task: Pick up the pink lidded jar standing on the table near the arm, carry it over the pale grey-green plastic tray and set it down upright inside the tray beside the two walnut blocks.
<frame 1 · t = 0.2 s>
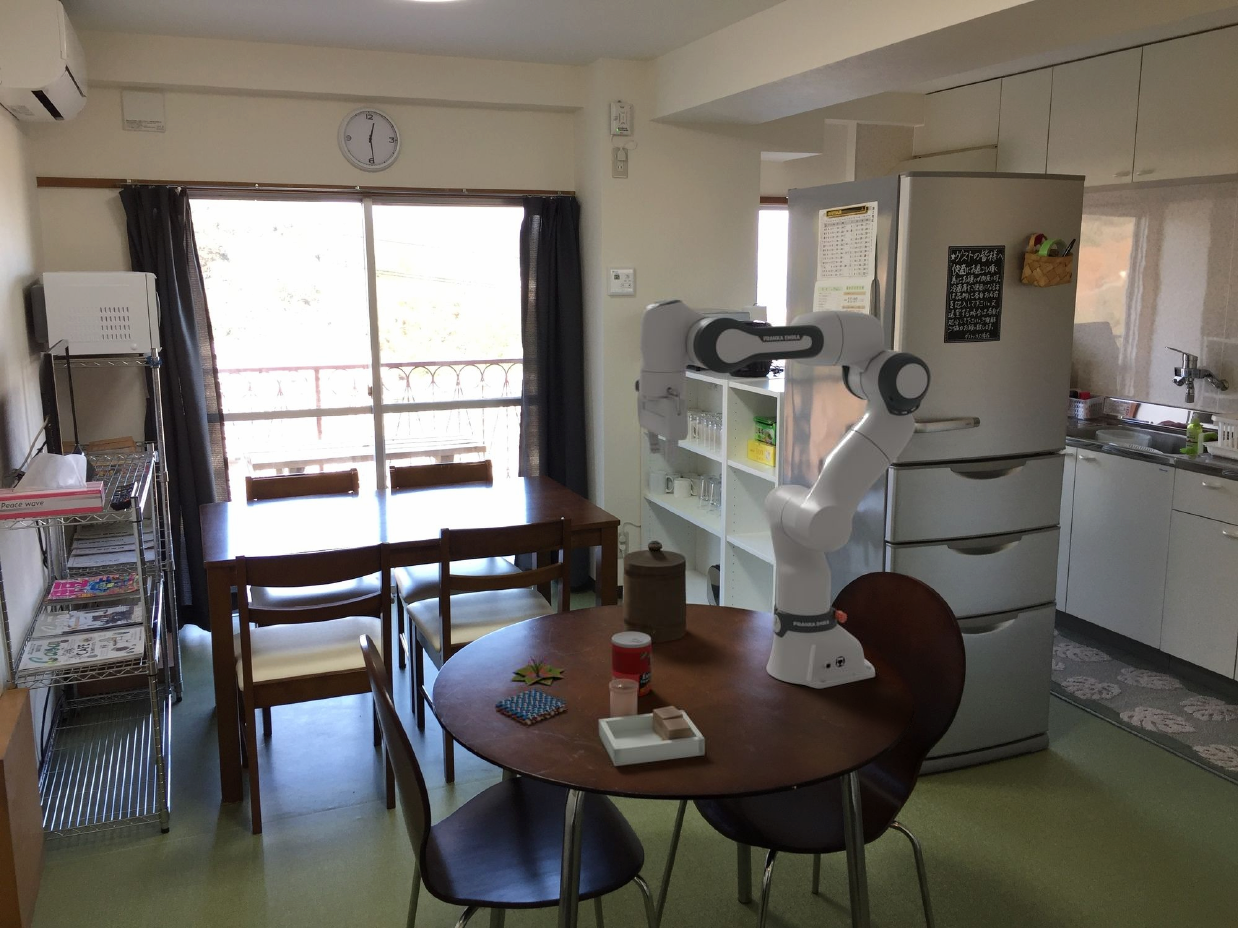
hand: (662, 456, 187), 47 cm above the table, fingers open, 8 cm apart
canned food: (631, 690, 194), on the table
block b: (667, 732, 174), point 1 cm above the table, touching tray
tray: (650, 744, 171), on the table
pink lidded jar: (623, 719, 181), on the table
woven mat: (531, 712, 185), on the table
wooden container: (654, 632, 227), on the table
block a: (676, 745, 169), point 1 cm above the table, touching tray
lily flower: (538, 678, 202), on the table
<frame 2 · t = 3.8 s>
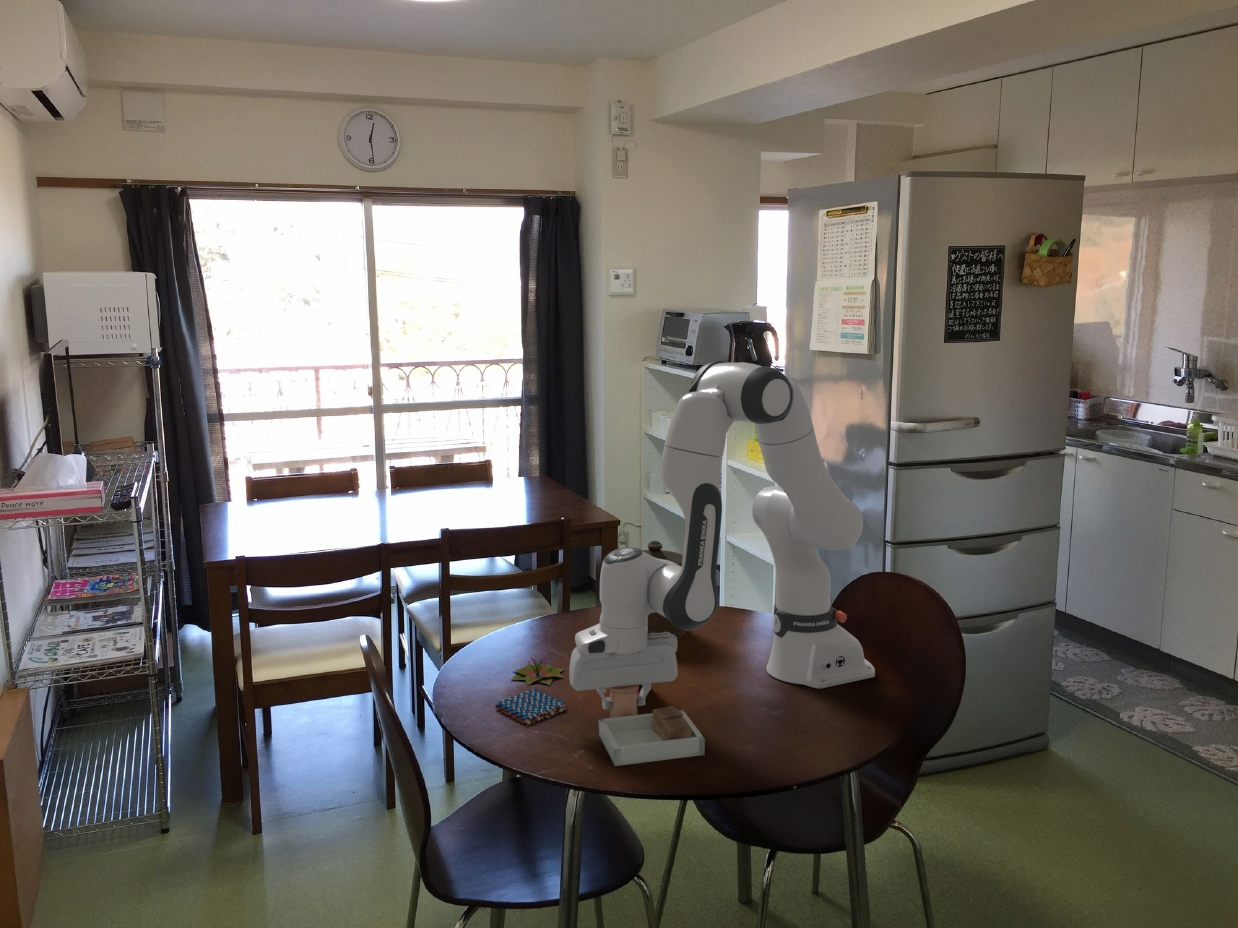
hand: (623, 706, 180), 3 cm above the table, fingers closed on pink lidded jar, 5 cm apart
pink lidded jar: (623, 719, 181), on the table, touching gripper
everything else where it was.
when the fingers open (4 cm above the table, at t = 9.3 s): pink lidded jar stays where it is, resting on tray.
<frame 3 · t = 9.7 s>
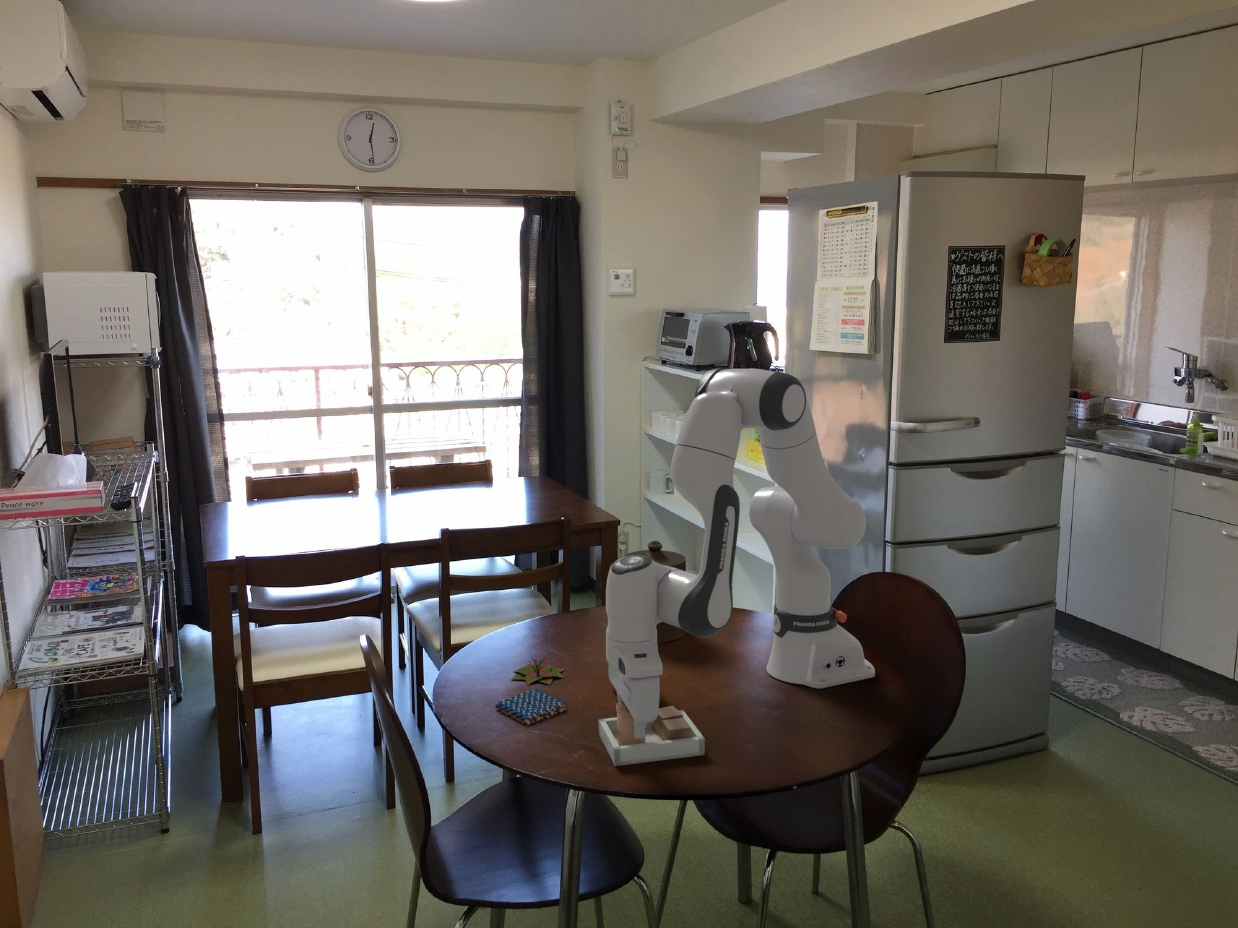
hand: (631, 724, 169), 4 cm above the table, fingers open, 8 cm apart
pink lidded jar: (631, 743, 170), point 1 cm above the table, touching tray
everything else where it was.
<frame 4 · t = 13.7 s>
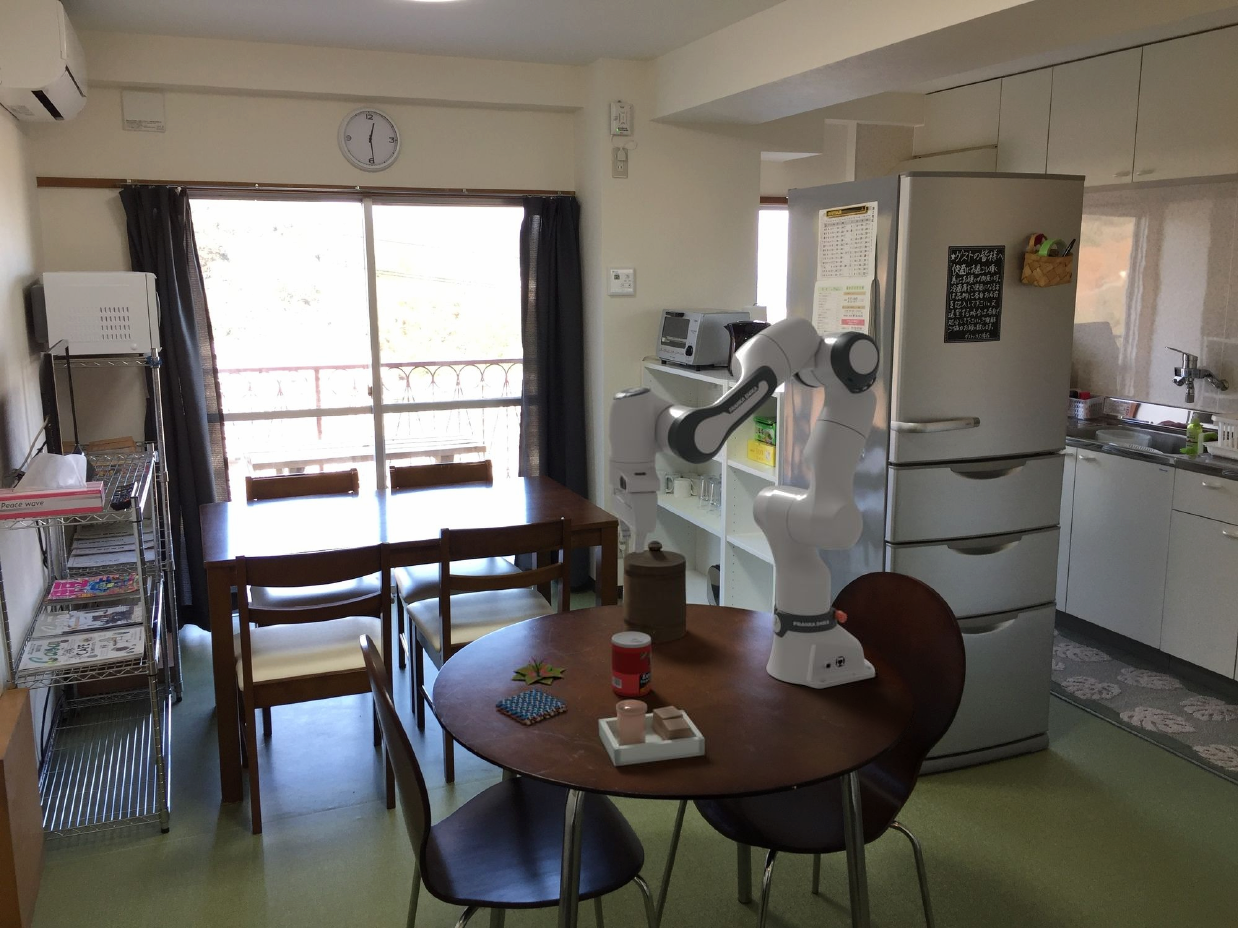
hand: (631, 545, 185), 31 cm above the table, fingers open, 8 cm apart
nothing on the table moved.
at the end: pink lidded jar inside the target area on the tray (3.5 cm from its centre), point 0.6 cm above the tray's base; pink lidded jar tilted 0°; the gripper is holding nothing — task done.
